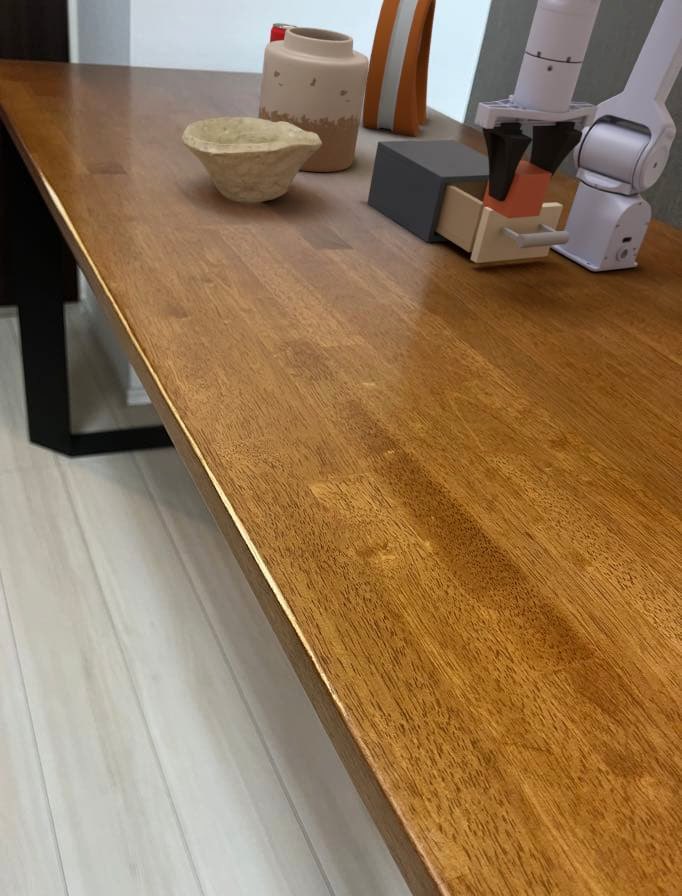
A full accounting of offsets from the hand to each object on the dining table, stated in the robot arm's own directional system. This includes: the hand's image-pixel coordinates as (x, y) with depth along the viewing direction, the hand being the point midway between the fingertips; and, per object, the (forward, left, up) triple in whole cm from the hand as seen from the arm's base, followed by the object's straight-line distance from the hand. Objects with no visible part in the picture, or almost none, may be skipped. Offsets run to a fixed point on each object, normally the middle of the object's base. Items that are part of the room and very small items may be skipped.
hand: (514, 197), depth 93 cm
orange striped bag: (+67, -31, -11) cm, 75 cm away
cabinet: (+21, -7, -10) cm, 25 cm away
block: (0, 0, -1) cm, 1 cm away
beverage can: (+83, -15, -11) cm, 85 cm away
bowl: (+34, +15, -11) cm, 39 cm away
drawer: (+9, -7, -9) cm, 15 cm away
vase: (+49, -2, -11) cm, 50 cm away
